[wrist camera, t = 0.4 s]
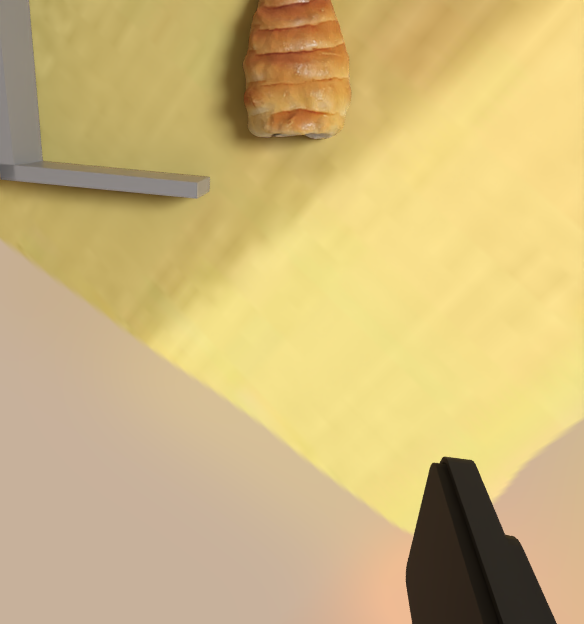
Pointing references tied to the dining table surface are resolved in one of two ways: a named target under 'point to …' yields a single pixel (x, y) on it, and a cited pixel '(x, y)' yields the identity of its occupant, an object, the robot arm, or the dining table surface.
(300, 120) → the pastry
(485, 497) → the robot arm
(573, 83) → the dining table surface
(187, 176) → the gray u-shaped fence
